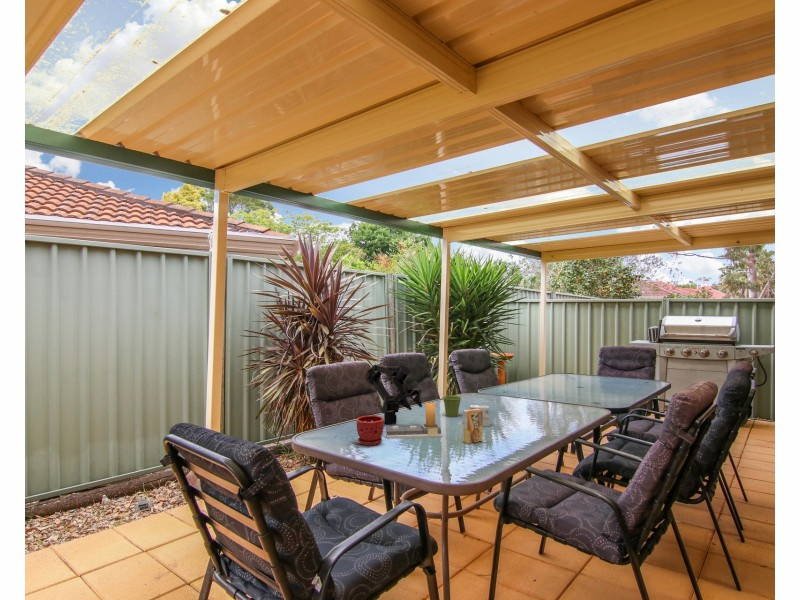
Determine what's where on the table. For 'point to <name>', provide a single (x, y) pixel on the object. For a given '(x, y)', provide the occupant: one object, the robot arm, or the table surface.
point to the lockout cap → (430, 414)
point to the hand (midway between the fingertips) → (416, 408)
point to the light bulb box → (483, 413)
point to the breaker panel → (413, 432)
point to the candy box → (472, 425)
